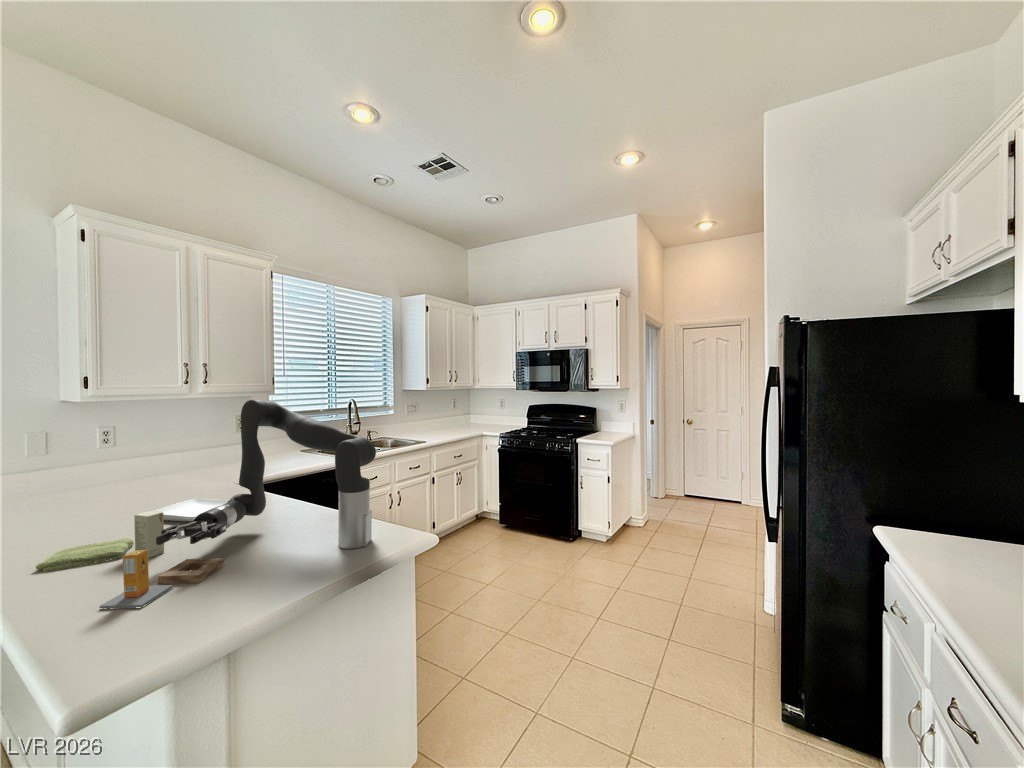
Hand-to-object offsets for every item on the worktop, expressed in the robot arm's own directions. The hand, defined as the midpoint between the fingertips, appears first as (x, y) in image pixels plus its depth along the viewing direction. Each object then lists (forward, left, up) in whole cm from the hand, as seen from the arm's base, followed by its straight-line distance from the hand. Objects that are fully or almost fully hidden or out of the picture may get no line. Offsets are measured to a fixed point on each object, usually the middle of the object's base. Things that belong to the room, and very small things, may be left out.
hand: (174, 540), depth 107 cm
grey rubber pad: (0, +11, -9) cm, 14 cm away
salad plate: (+32, -53, -10) cm, 63 cm away
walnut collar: (-4, -1, -9) cm, 10 cm away
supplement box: (+1, +11, -9) cm, 14 cm away
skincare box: (+18, -15, -10) cm, 25 cm away
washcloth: (+34, -13, -10) cm, 38 cm away
